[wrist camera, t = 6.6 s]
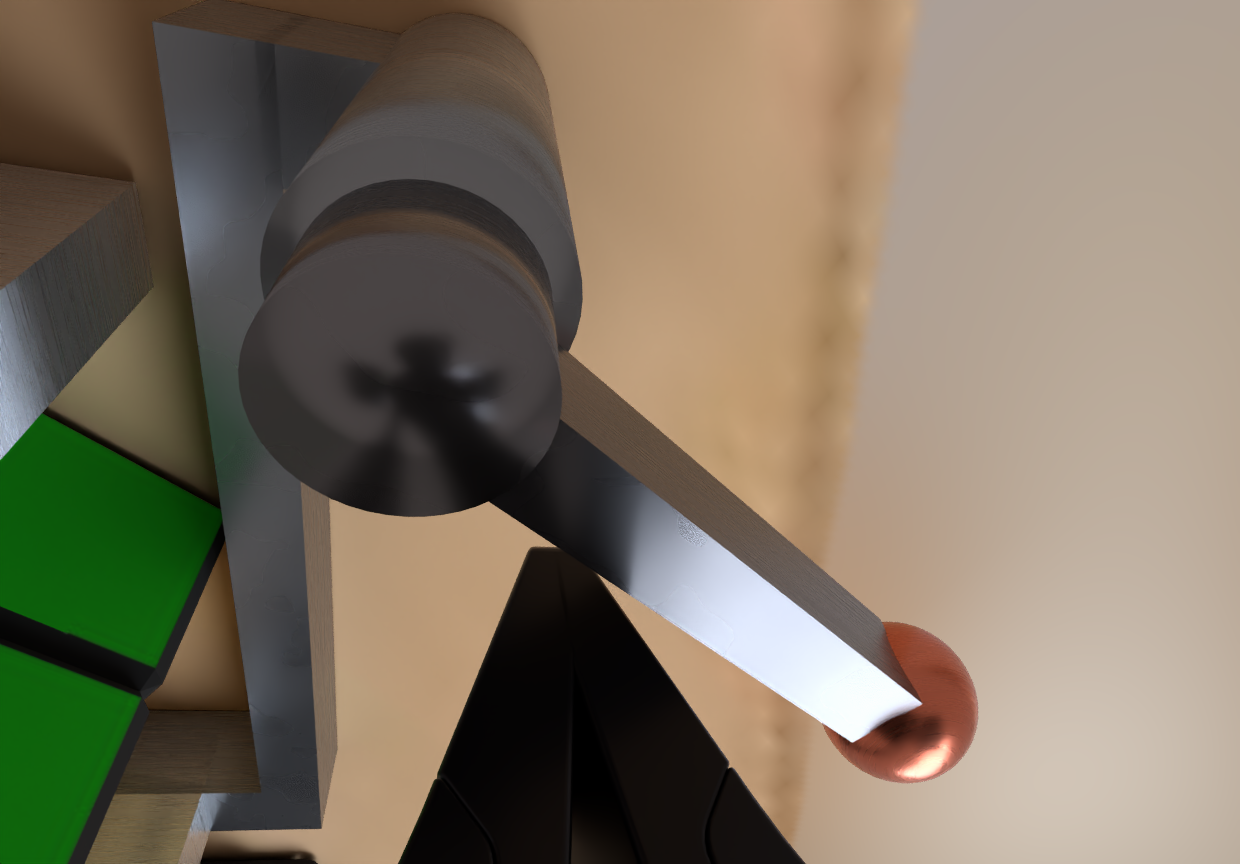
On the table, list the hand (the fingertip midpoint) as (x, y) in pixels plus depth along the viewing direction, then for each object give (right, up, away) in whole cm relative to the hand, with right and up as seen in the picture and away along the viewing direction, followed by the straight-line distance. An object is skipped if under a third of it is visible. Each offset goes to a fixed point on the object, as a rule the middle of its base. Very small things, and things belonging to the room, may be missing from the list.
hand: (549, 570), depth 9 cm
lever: (+2, +1, 0) cm, 2 cm away
